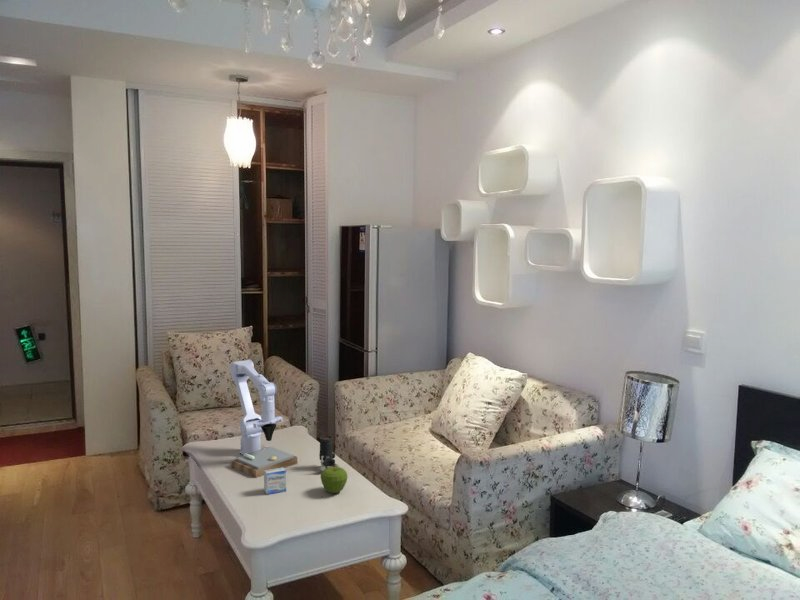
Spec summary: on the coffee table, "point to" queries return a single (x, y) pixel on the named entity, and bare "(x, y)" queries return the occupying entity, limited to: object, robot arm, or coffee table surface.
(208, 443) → the coffee table surface
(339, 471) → the apple
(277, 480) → the medicine box
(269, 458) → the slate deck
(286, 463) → the walnut base
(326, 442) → the scope
